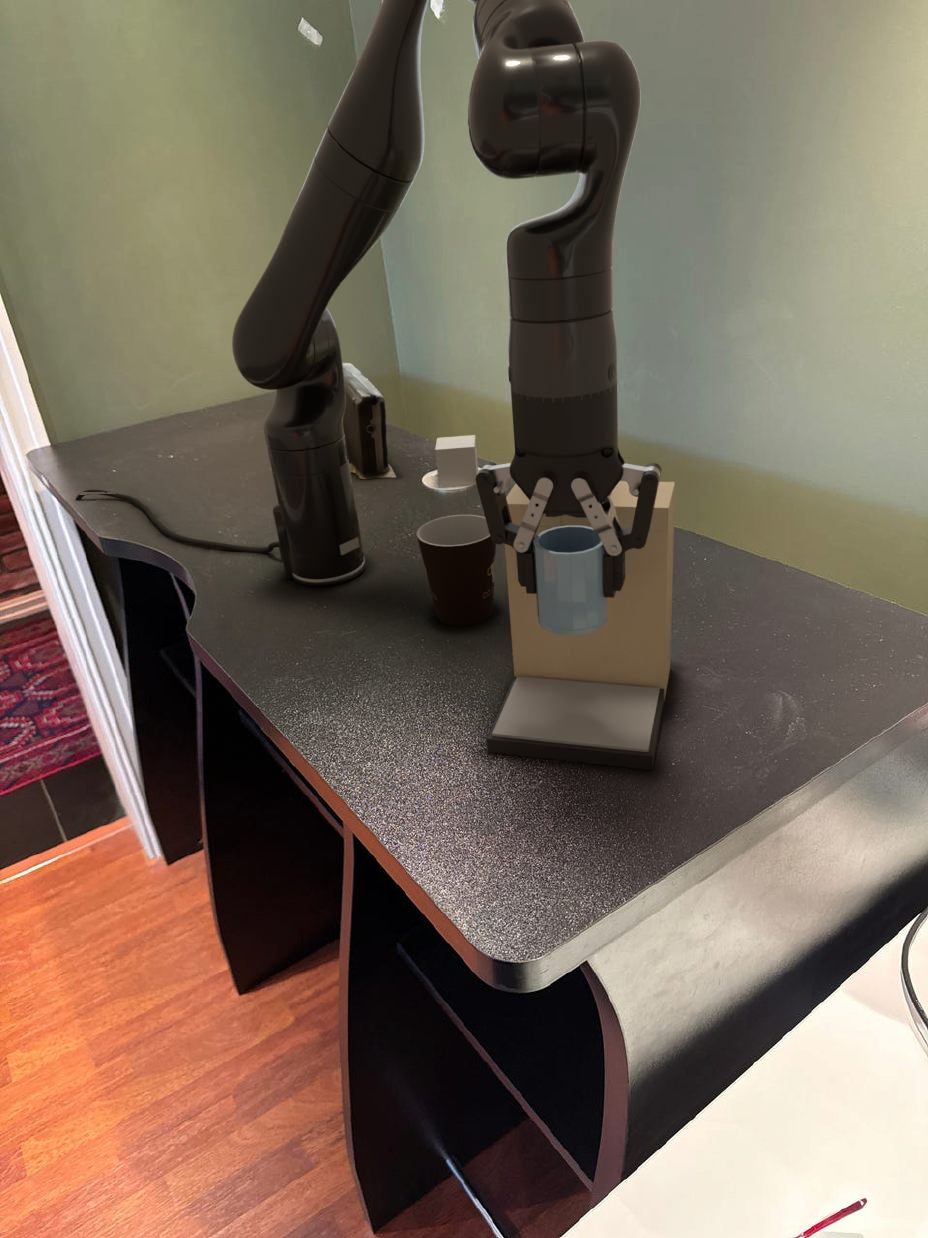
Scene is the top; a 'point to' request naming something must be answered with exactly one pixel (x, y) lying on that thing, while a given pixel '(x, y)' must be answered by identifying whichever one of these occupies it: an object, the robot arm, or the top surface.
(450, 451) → the white cube
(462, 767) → the top surface
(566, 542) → the creamer cup
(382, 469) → the radio
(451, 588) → the coffee mug
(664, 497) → the coffee maker
